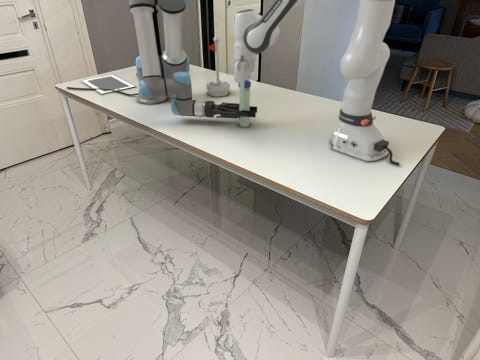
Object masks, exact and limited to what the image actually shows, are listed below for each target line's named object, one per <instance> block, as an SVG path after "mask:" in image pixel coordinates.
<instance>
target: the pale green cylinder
mask: <svg viewBox="0 0 480 360" xmlns="http://www.w3.org/2000/svg"><path fill="white" fill-rule="evenodd" d="M238 88H239V87H238ZM238 91H239V92H238V93H239V94H238V95H239V96H238V97H239V98H238V104H239V111H241V110H247V111H250V106H251V87H250V88H245V89H244V90H241V89H240V88H239V89H238ZM250 118H251V117H241V118H240V119H239V118H238V120H239V121H238V122H239V123H238V124H239V127H242V128H247V127H249V126H250V121H251V119H250Z"/></svg>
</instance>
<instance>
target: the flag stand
mask: <svg viewBox="0 0 480 360" xmlns="http://www.w3.org/2000/svg"><path fill="white" fill-rule="evenodd" d="M219 42H220V38H219V37H218V36H214V37H213V43H212V44H211V45H209V46H208V47H207V49H208V50H211V51H213V52H214V53H215V74H216V75H215V76H216V82H214V81H213V80H211V81H208V82H207V83H206V84H205V85H206V87H205V88H206V90H207V91H208V95H209V96H211V97H216V98H217V97H225V96H227V95H228V94H229V90H230V88H231V83H230V82H228V81H227V80H224V81H223V82H222V80H220V64H219V63H220V61H219Z"/></svg>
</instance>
